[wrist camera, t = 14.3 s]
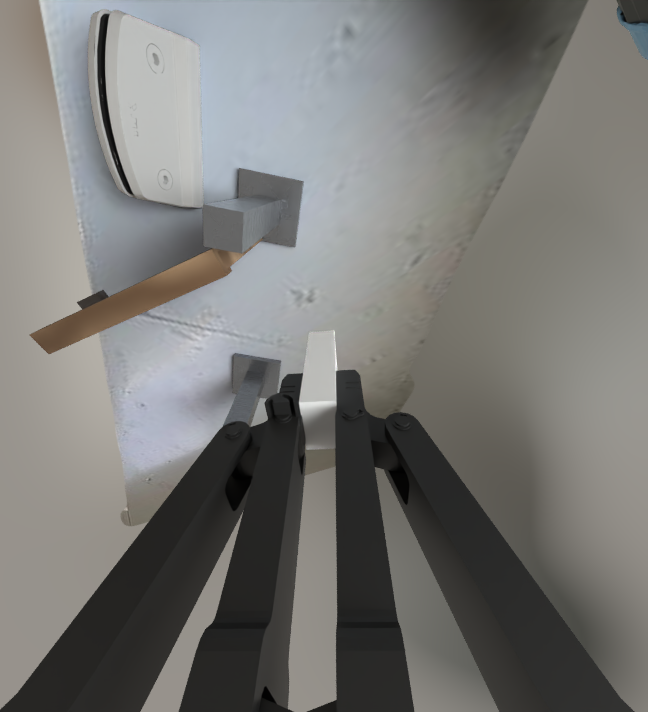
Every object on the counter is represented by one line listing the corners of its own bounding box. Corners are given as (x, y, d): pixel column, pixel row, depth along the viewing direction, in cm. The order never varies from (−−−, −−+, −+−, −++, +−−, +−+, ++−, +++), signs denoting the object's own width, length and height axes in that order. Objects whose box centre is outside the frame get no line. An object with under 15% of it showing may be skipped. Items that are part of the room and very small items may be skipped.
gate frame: (303, 181, 38) (280, 180, 21) (276, 396, 56) (252, 491, 39) (241, 168, 38) (164, 156, 20) (234, 389, 55) (189, 483, 38)
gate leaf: (264, 242, 41) (226, 275, 26) (139, 299, 45) (48, 354, 31) (252, 218, 39) (206, 239, 25) (125, 279, 44) (22, 328, 29)
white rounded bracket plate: (203, 210, 40) (139, 211, 32) (175, 203, 41) (106, 202, 33) (199, 40, 32) (110, -19, 23) (164, 36, 33) (66, -22, 25)
